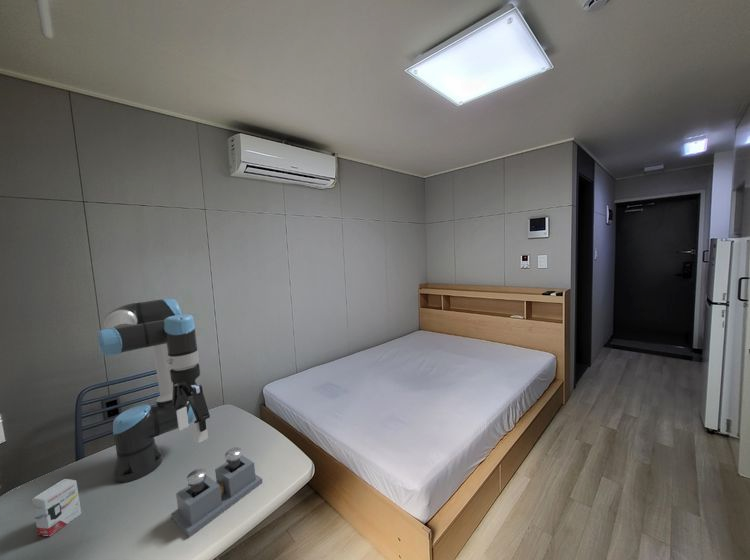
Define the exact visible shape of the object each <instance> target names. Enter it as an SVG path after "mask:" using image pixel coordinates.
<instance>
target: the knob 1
mask: <svg viewBox="0 0 750 560" xmlns="http://www.w3.org/2000/svg"><path fill="white" fill-rule="evenodd" d="M206 475H207V473H206V469H205V468H196V469H194V470H193V471H191V472H189V474H188V475H187V476H186V481H187V483H186V484H187V486H190V487H191V492H192V497H193V498H194V497H196V496H198V495H199V494H201V493H202V492H204V491H205V485H204V481H205V479H206Z"/></svg>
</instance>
